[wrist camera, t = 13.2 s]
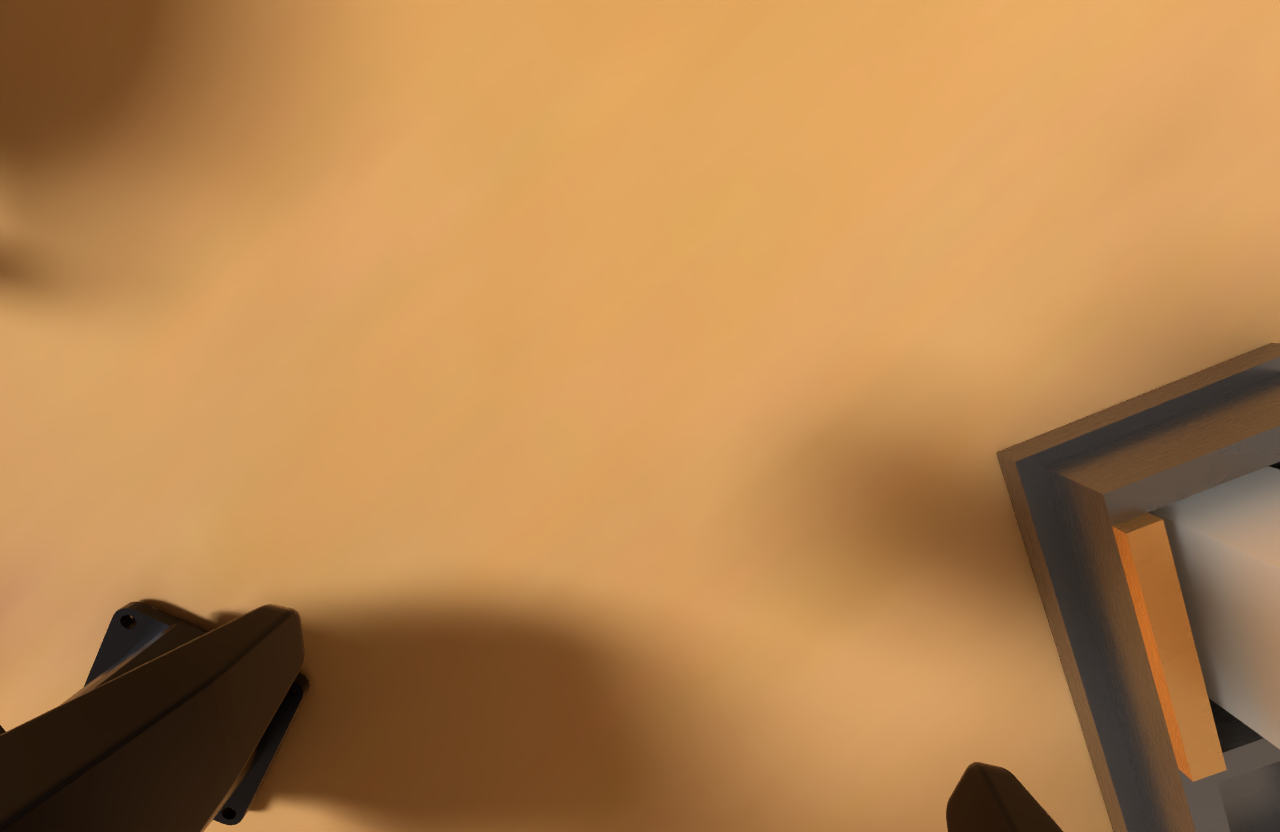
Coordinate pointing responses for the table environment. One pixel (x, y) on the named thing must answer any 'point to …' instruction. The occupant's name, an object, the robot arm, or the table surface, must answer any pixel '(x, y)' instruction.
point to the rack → (1149, 592)
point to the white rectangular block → (1233, 592)
